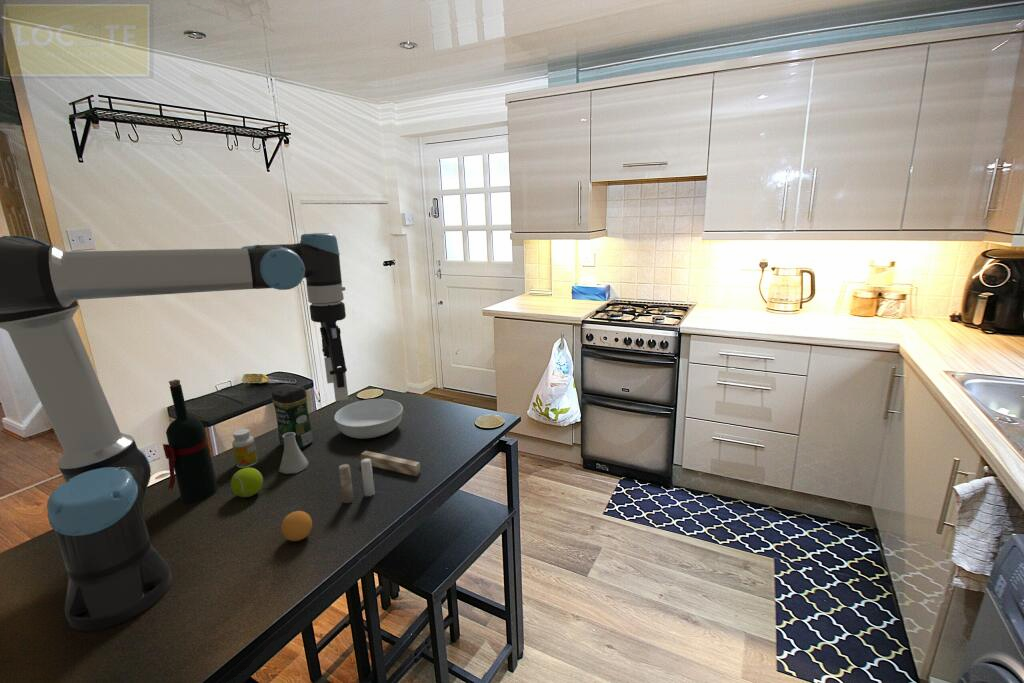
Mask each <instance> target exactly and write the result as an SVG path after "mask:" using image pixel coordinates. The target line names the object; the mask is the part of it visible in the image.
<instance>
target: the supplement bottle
mask: <svg viewBox="0 0 1024 683" xmlns="http://www.w3.org/2000/svg"><path fill="white" fill-rule="evenodd" d="M232 435H233V441H232V442H231V444H232V450H233V455H234V456H233V457H234V460H235V464H236V467H237V468H240V469H243V468H251V467H252V466H254V465H256V464H257V463H258V461H259V458H258V454H257V447H256V440H255V438H254V437H253V436H252V435H251V430H250V429H249V428H240V429H238V430H236V431H234V432H233V433H232Z"/></svg>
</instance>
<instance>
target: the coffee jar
mask: <svg viewBox="0 0 1024 683" xmlns="http://www.w3.org/2000/svg"><path fill="white" fill-rule="evenodd" d="M271 400H272V403H273V407H274V410H275V417H276V423H277V424H276V425H277V431H278V432H277V433H278V438H279V439H278V440H279V443H280V445H281V446H282V447H284V439H283V438H282V436H283V434H286V433H289V432H294V433H296V435H295V440H296V443H297V445H298V447H299V449H302V448H305V447H308V446H309V445H310V444H312V443H313V442H314V435H313V434H314V433H313V430H312V425H311V421H310V415H309V410H308V409H309V408H308V395H307V391H306V388H304V387H303V386H299V385H295V384H292V383H291V384H290V383H287V382H286V383H283V384H280V385H277V386H274V388H273V389H272V390H271Z"/></svg>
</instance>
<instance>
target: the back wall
mask: <svg viewBox="0 0 1024 683" xmlns="http://www.w3.org/2000/svg"><path fill="white" fill-rule="evenodd" d="M360 459H361V460H363V459H371V465H372V467H375V468H378V467H379V469H383V470H387V469H388V471H391V470H392V472H395V471H396V473H400V474H405V475H409V476H412V475H413V477H417V476H419V475H420V474H421V462H420V461H415V460H410V459H405V458H400V457H397V456H392V455H388V454H383V453H378V452H374V451H369V450H365V451H363V452H362V453H360ZM419 473H420V474H419Z"/></svg>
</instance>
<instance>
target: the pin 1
mask: <svg viewBox="0 0 1024 683" xmlns="http://www.w3.org/2000/svg"><path fill="white" fill-rule="evenodd" d="M338 471H339V478H340V484H341V485H340V486H341V493H342V501H343V503H344V504H349V503H352V502H353V501H354V500H355V497H354V491H353V483H352V473H351V466H350V464H349V463H343V464H340V465H339V466H338Z"/></svg>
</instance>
